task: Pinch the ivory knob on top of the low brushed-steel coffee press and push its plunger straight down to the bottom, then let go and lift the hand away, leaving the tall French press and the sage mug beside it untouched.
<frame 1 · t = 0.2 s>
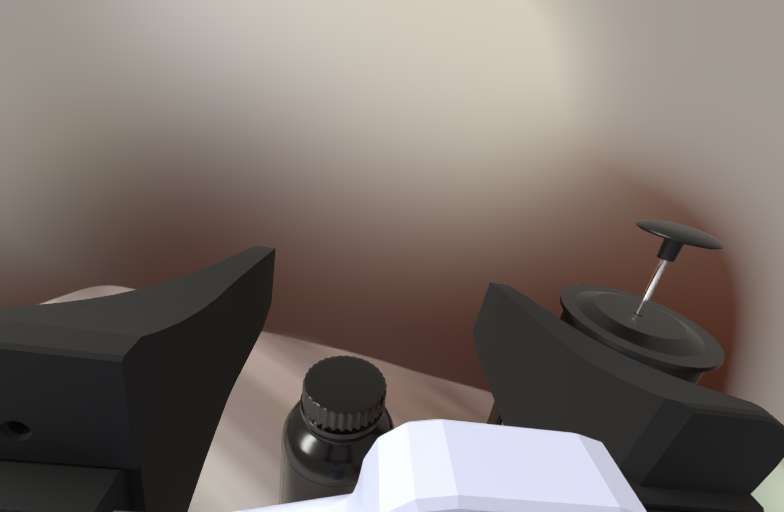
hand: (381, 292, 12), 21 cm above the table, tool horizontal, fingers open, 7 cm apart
french press: (542, 494, 30), on the table
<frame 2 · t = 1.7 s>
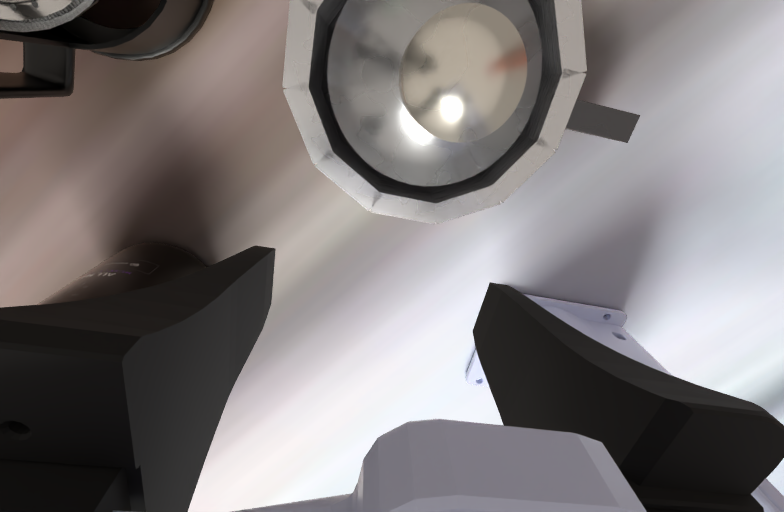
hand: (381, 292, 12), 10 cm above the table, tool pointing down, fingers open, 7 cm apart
plunger: (445, 79, 13), point 7 cm above the table, slide at 3.0 cm
supplement bottle: (169, 286, 24), on the table
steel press: (422, 81, 19), on the table
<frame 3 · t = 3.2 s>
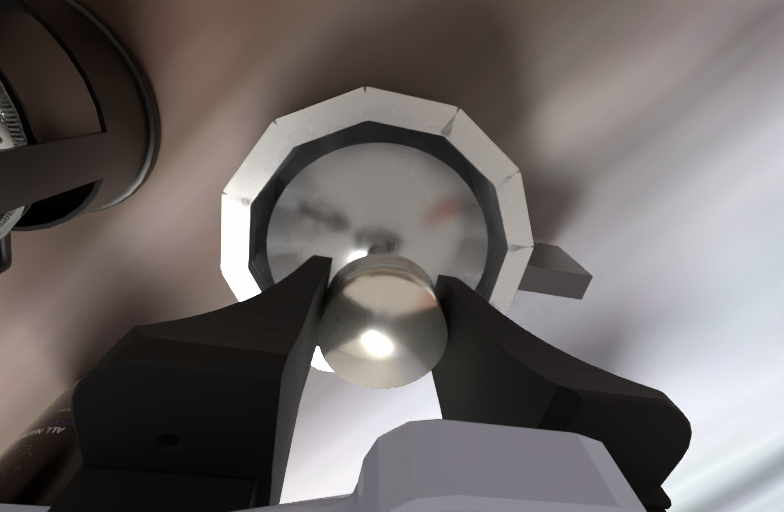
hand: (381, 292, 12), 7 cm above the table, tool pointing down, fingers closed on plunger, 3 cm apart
plunger: (380, 285, 13), point 7 cm above the table, slide at 3.0 cm, touching gripper
supplement bottle: (132, 403, 23), on the table
french press: (48, 116, 16), on the table
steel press: (377, 219, 19), on the table
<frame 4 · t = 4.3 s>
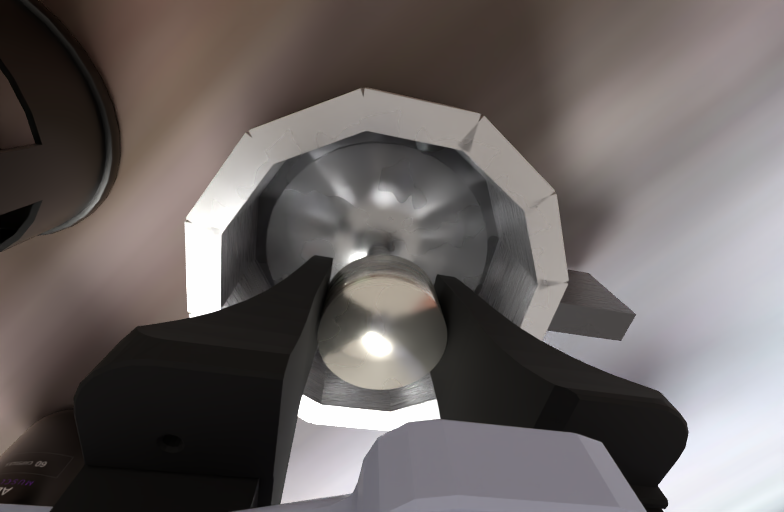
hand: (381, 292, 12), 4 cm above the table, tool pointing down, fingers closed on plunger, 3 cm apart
plunger: (380, 286, 13), point 4 cm above the table, slide at 0.1 cm, touching gripper
supplement bottle: (101, 444, 21), on the table
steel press: (377, 242, 16), on the table
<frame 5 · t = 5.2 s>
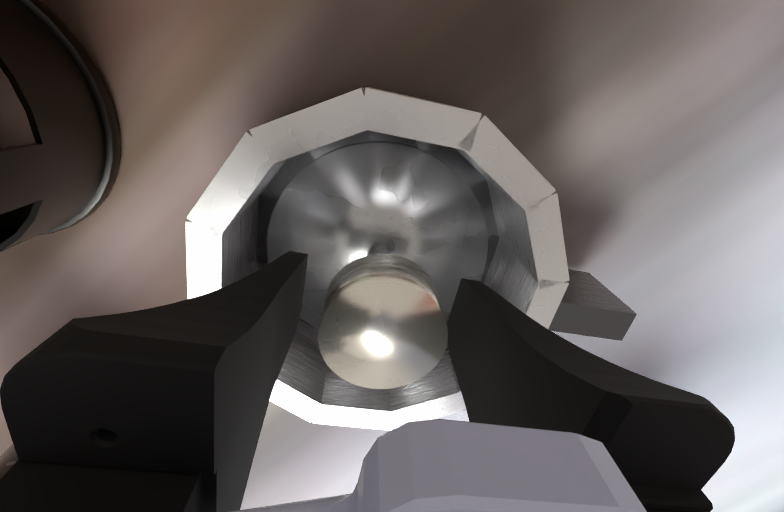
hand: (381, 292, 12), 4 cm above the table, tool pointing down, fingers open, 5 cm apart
plunger: (380, 286, 13), point 4 cm above the table, slide at 0.1 cm
supplement bottle: (102, 444, 21), on the table
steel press: (378, 241, 16), on the table
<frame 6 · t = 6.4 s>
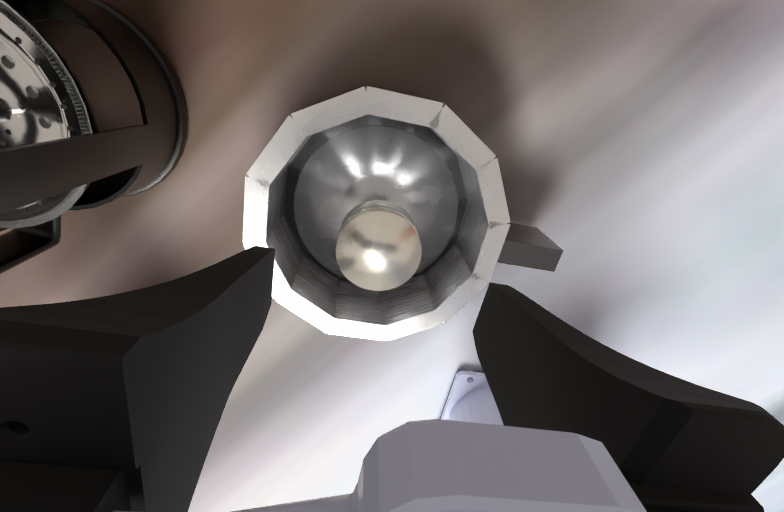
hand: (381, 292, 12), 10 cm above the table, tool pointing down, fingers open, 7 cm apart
plunger: (377, 228, 18), point 4 cm above the table, slide at 0.1 cm
french press: (90, 112, 19), on the table
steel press: (376, 204, 21), on the table
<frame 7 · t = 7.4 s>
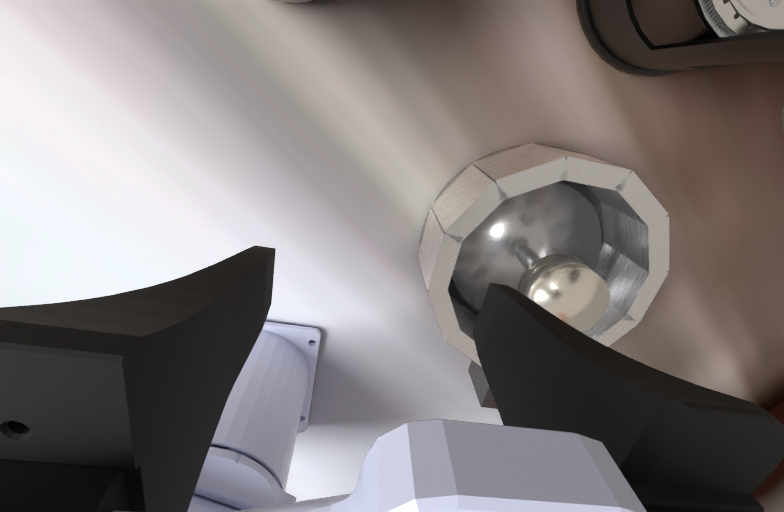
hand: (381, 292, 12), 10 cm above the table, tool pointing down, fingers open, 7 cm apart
plunger: (543, 274, 19), point 4 cm above the table, slide at 0.1 cm
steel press: (516, 245, 23), on the table
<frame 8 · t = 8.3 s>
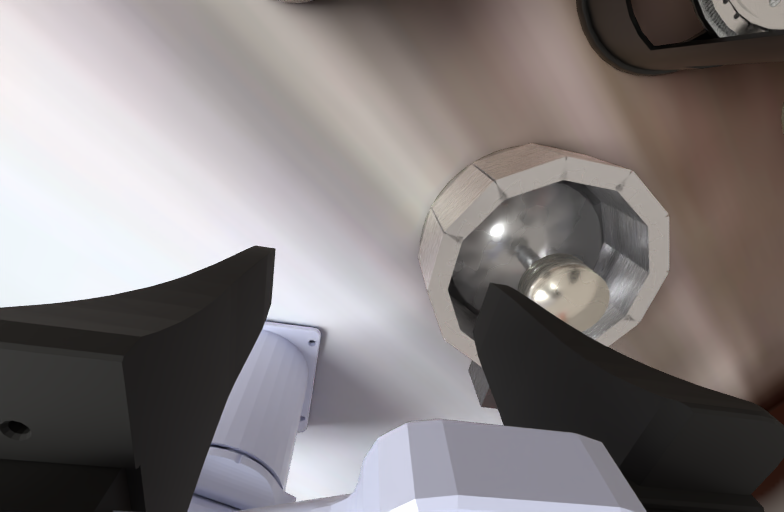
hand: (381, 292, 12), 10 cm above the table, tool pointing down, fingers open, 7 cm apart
plunger: (543, 274, 19), point 4 cm above the table, slide at 0.1 cm
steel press: (516, 245, 23), on the table
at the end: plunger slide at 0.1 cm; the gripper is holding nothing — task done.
